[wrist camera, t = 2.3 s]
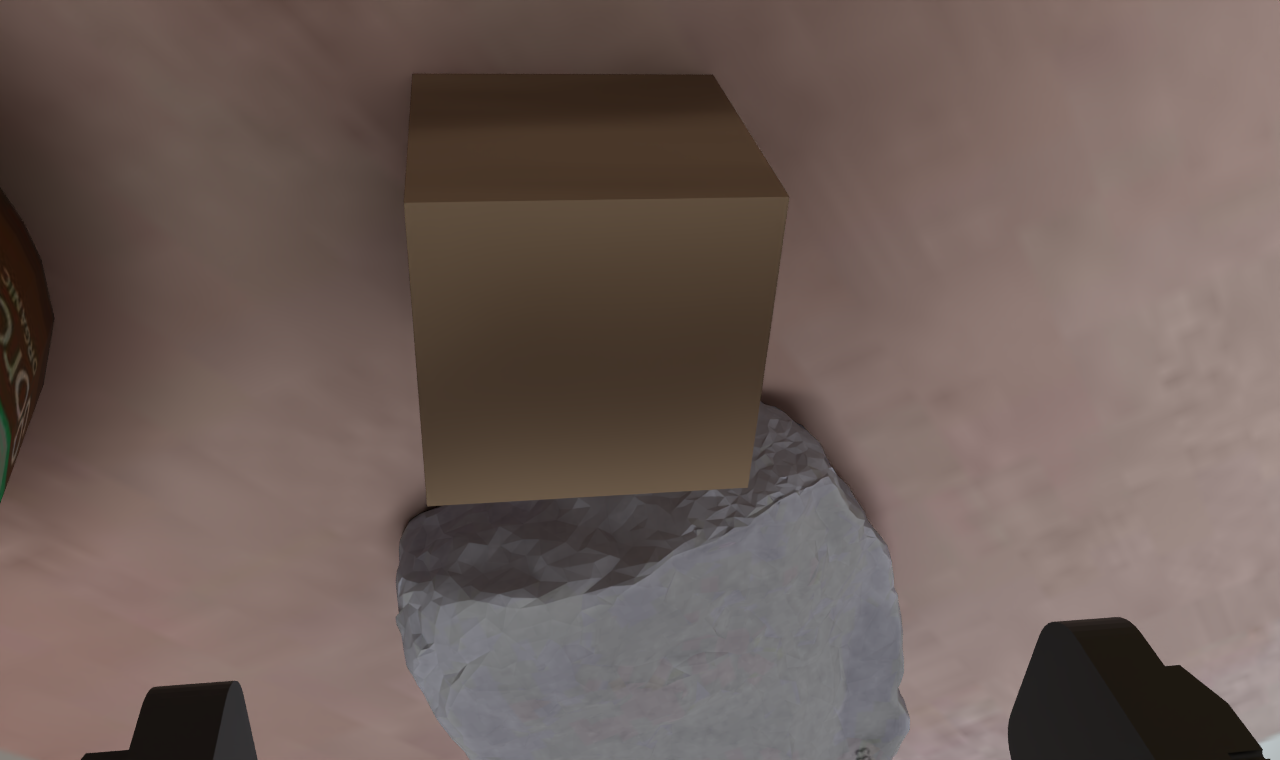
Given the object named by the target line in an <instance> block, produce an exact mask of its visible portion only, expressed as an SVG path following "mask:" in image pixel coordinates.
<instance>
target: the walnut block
mask: <svg viewBox="0 0 1280 760" xmlns="http://www.w3.org/2000/svg"><path fill="white" fill-rule="evenodd" d="M788 202H789V196H788V194H787V192H786V191H785V189H784V188H783V186H782V184H781V183H780V181H779V180H778V178H777V176H776V175H775V173H774V172H773V170H772V168H771V167H770V165H769V164H768V162H767V160H766V159H765V157H764V156H763V154H762V152H761V151H760V149H759V148H758V146H757V145H756V143H755V141H754V140H753V138H752V137H751V135H750V133H749V132H748V130H747V129H746V127H745V125H744V124H743V122H742V121H741V119H740V117H739V116H738V114H737V113H736V111H735V109H734V108H733V106H732V105H731V103H730V101H729V100H728V98H727V97H726V95H725V93H724V92H723V90H722V89H721V87H720V85H719V84H718V82H717V81H716V79H715V77H714V76H713V75H671V74H412V88H411V103H410V118H409V133H408V148H407V163H406V178H405V193H404V212H405V225H406V238H407V251H408V264H409V277H410V290H411V303H412V316H413V329H414V342H415V355H416V368H417V381H418V394H419V407H420V420H421V434H422V447H423V460H424V473H425V486H426V499H427V506H443V505H460V504H477V503H494V502H511V501H528V500H545V499H562V498H579V497H596V496H613V495H631V494H648V493H665V492H682V491H699V490H716V489H733V488H748V484H749V477H750V470H751V463H752V456H753V448H754V441H755V434H756V427H757V420H758V413H759V406H760V399H761V392H762V385H763V378H764V371H765V364H766V357H767V350H768V343H769V336H770V329H771V322H772V315H773V308H774V301H775V294H776V287H777V280H778V273H779V266H780V259H781V252H782V245H783V238H784V231H785V224H786V216H787V209H788Z"/></svg>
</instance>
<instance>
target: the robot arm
mask: <svg viewBox="0 0 1280 760" xmlns="http://www.w3.org/2000/svg"><path fill="white" fill-rule="evenodd" d="M1008 743H1009V750H1010V755H1011V760H1270V759H1265V758H1264V757H1263V754H1262V750H1263V749H1262V748H1261V747H1260V745H1259V744H1258V743H1257V741H1256V740H1255V739H1254V737H1253V736H1252V735H1251V733H1250V732H1249V731H1248V729H1247V728H1246V727H1245V725H1244V724H1243V723H1242V721H1241V720H1240V719H1239V717H1238V716H1237V715H1236V713H1235V712H1234V711H1233V709H1232V708H1231V707H1230V705H1229V704H1228V703H1227V702H1226V701H1224V700H1223V699H1222V698H1221V697H1219V696H1218V695H1217V694H1215V693H1214V692H1213V691H1212V690H1210V689H1209V688H1208V687H1207V686H1205V685H1204V684H1203V683H1202V682H1200V681H1199V680H1198V679H1197V678H1195V677H1194V676H1193V675H1192V674H1190V673H1189V672H1188V671H1187V670H1185V669H1184V668H1183V667H1181V666H1180V665H1174V666H1164V664H1163V663H1162V662H1161V660H1160V659H1159V657H1158V656H1157V655H1156V653H1155V652H1154V651H1153V649H1152V648H1151V646H1150V645H1149V644H1148V642H1147V641H1146V639H1145V638H1144V637H1143V635H1142V634H1141V632H1140V631H1139V630H1138V629H1137V628H1136V627H1135V626H1134V625H1133V624H1132V623H1131V622H1130V621H1128V620H1126V619H1124V618H1121V617H1111V618H1098V619H1085V620H1072V621H1059V622H1051V623H1048V624H1047V625H1046V626H1045V627H1044V628H1043V630H1042V631H1041V633H1040V635H1039V638H1038V641H1037V643H1036V646H1035V649H1034V652H1033V654H1032V657H1031V660H1030V663H1029V665H1028V668H1027V671H1026V674H1025V676H1024V679H1023V682H1022V684H1021V687H1020V690H1019V693H1018V695H1017V698H1016V701H1015V704H1014V706H1013V709H1012V712H1011V715H1010V718H1009V724H1008ZM81 760H257V755H256V750H255V746H254V741H253V737H252V732H251V727H250V723H249V718H248V714H247V709H246V705H245V700H244V695H243V691H242V688H241V686H240V684H239V682H238V681H225V682H212V683H199V684H185V685H172V686H159V687H153V688H151V689H150V690H149V692H148V693H147V695H146V697H145V699H144V702H143V705H142V707H141V711H140V714H139V718H138V721H137V724H136V728H135V731H134V735H133V738H132V741H131V745H130V748H129V750H122V751H110V752H98V753H86V754H85V755H84V756H83V758H82V759H81Z"/></svg>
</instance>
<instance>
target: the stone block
mask: <svg viewBox="0 0 1280 760" xmlns="http://www.w3.org/2000/svg"><path fill="white" fill-rule="evenodd" d="M399 561H400V562H399V567H398V570H397V576H396V589H397V599H398V608H399V614H398V615H397V616H396V623H397V626H398V628H399V630H400V632H401V635H402V641H403V648H404V654H405V659H406V665H407V667H408V669H409V671H410V672H411V674H412V675H413V677H414V679H415V681H416V683H417V685H418V686H419V688H420V689H421V691H422V692H423V694H424V695H425V697H426V699H427V701H428V703H429V705H430V707H431V709H432V711H433V713H434V715H435V717H436V718H437V720H438V721H439V723H440V724H441V726H442V727H443V728H444V729H445V730H446V732H447V733H448V734H449V736H450V737H451V738H452V740H453V741H454V742H455V743H456V744H457V745H459V746H460V747H461V748H462V749H463V750H464V752H465V753H466V755H467V756H468V758H469V759H470V760H892V758H893V757H894V756H895V755H896V754H897V752H898V749H899V747H900V744H901V743H902V741H903V739H904V738H905V736H906V735H907V733H908V732H909V730H910V718H909V714H908V711H907V708H906V705H905V702H904V699H903V697H902V696H901V694H900V691H899V688H898V687H899V685H900V682H901V680H902V677H903V673H904V657H903V648H902V642H903V629H902V620H901V613H900V608H899V603H898V595H897V593H896V591H895V588H894V575H893V569H892V561H891V557H890V554H889V550H888V546H887V544H886V543H885V542H884V540H883V539H882V537H881V536H880V535H879V534H878V533H877V532H876V530H875V529H874V528H873V527H872V525H871V524H870V522H869V521H868V520H867V517H866V515H865V512H864V511H863V509H862V507H861V506H860V504H859V503H858V501H857V500H856V499H855V497H854V495H853V494H852V492H851V490H850V488H849V486H848V485H847V484H846V483H845V482H844V481H843V480H842V479H841V478H840V477H839V476H838V475H837V474H836V473H835V471H834V469H833V468H832V467H831V466H830V463H829V460H828V459H827V457H826V455H825V453H824V451H823V449H822V447H821V445H820V443H819V442H818V441H817V440H816V439H815V438H814V437H813V436H812V435H811V434H810V433H809V432H808V431H807V430H806V429H805V428H804V427H803V426H802V425H800V424H798V423H796V422H794V421H793V420H792V419H791V418H790V417H789V416H788V415H787V414H786V413H785V412H783V411H782V410H780V409H778V408H776V407H774V406H769V405H765V404H764V403H762V402H761V401H760V406H759V413H758V420H757V427H756V434H755V441H754V448H753V456H752V463H751V470H750V477H749V484H748V488H733V489H716V490H699V491H682V492H665V493H648V494H631V495H613V496H596V497H579V498H562V499H545V500H528V501H511V502H494V503H477V504H460V505H444V506H441V507H438V508H435V509H432V510H429V511H427V512H424V513H421V514H419V515H418V516H416V517H415V518H413V519H412V520H411V521H409V523H408V525H407V527H406V529H405V531H404V533H403V535H402V537H401V540H400V545H399Z"/></svg>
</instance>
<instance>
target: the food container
mask: <svg viewBox="0 0 1280 760" xmlns="http://www.w3.org/2000/svg"><path fill="white" fill-rule="evenodd" d="M53 324H54V314H53V310H52V305H51V301H50V296H49V292H48V288H47V283H46V279H45V274H44V270H43V265H42V261H41V258H40V256H39V254H38V252H37V250H36V248H35V246H34V244H33V241H32V239H31V237H30V235H29V233H28V231H27V229H26V226H25V224H24V222H23V221H22V219H21V218H20V216H19V215H18V213H17V212H16V210H15V209H14V207H13V206H12V204H11V203H10V201H9V200H8V198H7V197H6V195H5V194H4V192H3V191H2V190H1V188H0V502H1V499H2V497H3V494H4V491H5V489H6V486H7V483H8V480H9V478H10V475H11V472H12V469H13V467H14V464H15V461H16V458H17V456H18V453H19V450H20V447H21V445H22V442H23V439H24V436H25V434H26V431H27V428H28V425H29V423H30V420H31V417H32V415H33V412H34V409H35V406H36V404H37V401H38V398H39V395H40V393H41V390H42V387H43V384H44V378H45V372H46V366H47V360H48V354H49V348H50V342H51V336H52V330H53Z"/></svg>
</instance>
